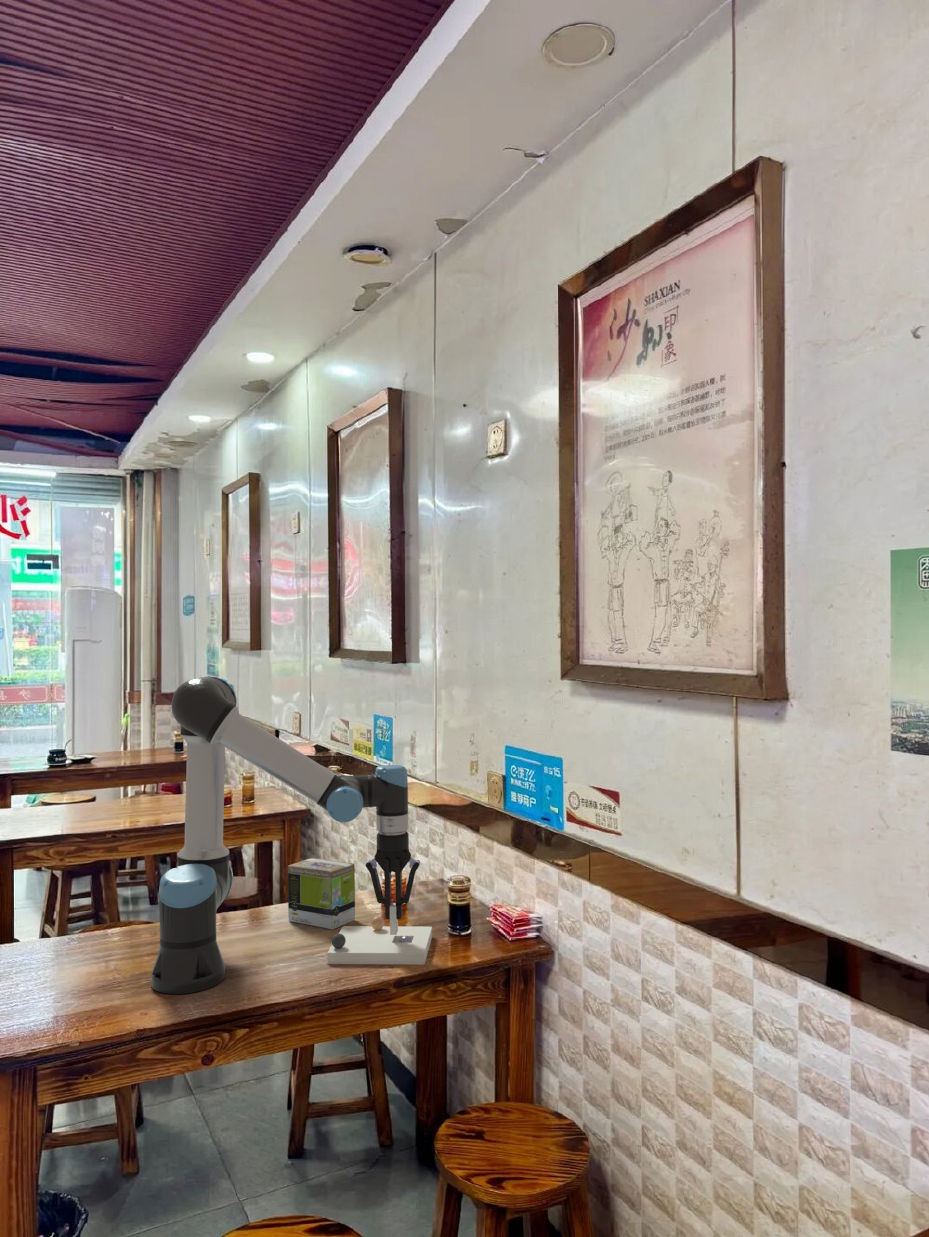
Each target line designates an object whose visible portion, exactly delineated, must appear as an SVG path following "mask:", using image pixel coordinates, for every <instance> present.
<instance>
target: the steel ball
mask: <svg viewBox="0 0 929 1237" xmlns="http://www.w3.org/2000/svg"><path fill="white" fill-rule="evenodd" d="M399 943H412V939H411V937H409V936H403V937H402V938H401V939H400V941H399Z"/></svg>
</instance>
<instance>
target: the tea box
mask: <svg viewBox="0 0 929 1237" xmlns="http://www.w3.org/2000/svg"><path fill="white" fill-rule="evenodd" d="M355 871H356V869H355V863H354V862H353V863H352V862H345V861H336V860H330V859H322V858H314V857H311V858H307V859H303V860H301V861H298V862H295V863H292V864H289V865H287V906H288V907H287V908H288V912H287V913H288V914H287V915H288V916H287V917H288V918H287V919H288V922H293V923H297V924H303V925H308V926H313V927H319V928H323V929H328V930H334V929H337V928H339V927H343V926H345V925H346V924H348V923H350V922H353V921H354V920H355V919H356V885H355V884H356V882H355V880H356V879H355V878H356V876H355V875H356V874H355V873H356V872H355Z"/></svg>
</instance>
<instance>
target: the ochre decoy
mask: <svg viewBox="0 0 929 1237" xmlns="http://www.w3.org/2000/svg"><path fill="white" fill-rule="evenodd" d="M384 920H385V919H384V918H383V917H382V916H380V915H379V916H378V915H377V916H373V918H372V919H371V922H370V926H372V928H373V929H375V930H380V929H382V928H383V926H385V921H384Z"/></svg>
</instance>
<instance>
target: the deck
mask: <svg viewBox="0 0 929 1237" xmlns="http://www.w3.org/2000/svg"><path fill="white" fill-rule="evenodd" d="M338 934H342V935H344V937H345V939H346V942H345V945H344V946H343V947H342V948H335V947H334V946H333V945H332V944H331V945H330V947H329V949H328V951H327V952H326V962H327V964H326V965H414V966H415V965H419V966H421V965H426V964H425V963H426V961H427V957H428V953H429V950H430V948H431V943H432V939H433V926H413V925H412V926H410V925H409V926H399V925H398V932H397V935H390V925H389V926H388V925H387V926H386V925H384V926H383V928H382V929H380V930H375V929H373V928H372V926H371V925H370V926H367V925H365V926H364V925H362V926H361V925H357V926H356V925H354V926H353V925H349V926H346V925H342V926H341V929H340V931H339V933H338ZM403 936H409V937H411V939H412V943H399V941H400V939H401V938H402V937H403Z"/></svg>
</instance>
